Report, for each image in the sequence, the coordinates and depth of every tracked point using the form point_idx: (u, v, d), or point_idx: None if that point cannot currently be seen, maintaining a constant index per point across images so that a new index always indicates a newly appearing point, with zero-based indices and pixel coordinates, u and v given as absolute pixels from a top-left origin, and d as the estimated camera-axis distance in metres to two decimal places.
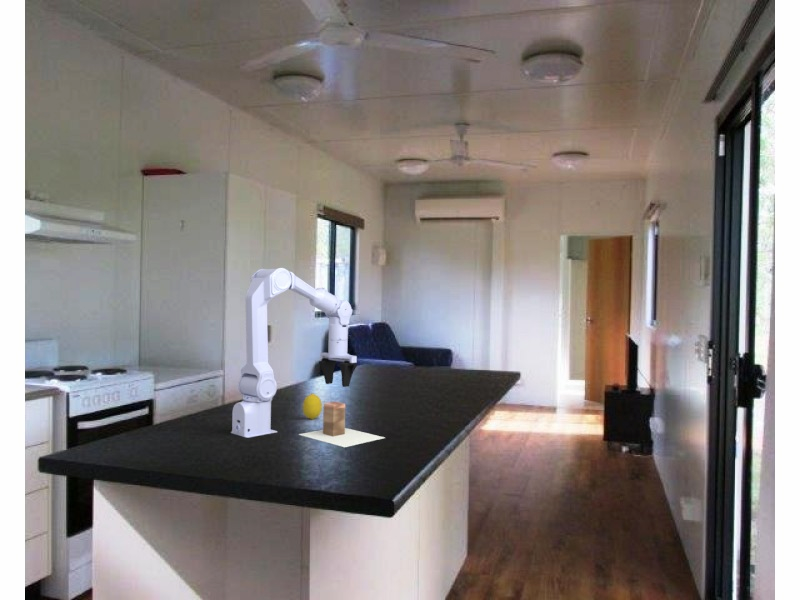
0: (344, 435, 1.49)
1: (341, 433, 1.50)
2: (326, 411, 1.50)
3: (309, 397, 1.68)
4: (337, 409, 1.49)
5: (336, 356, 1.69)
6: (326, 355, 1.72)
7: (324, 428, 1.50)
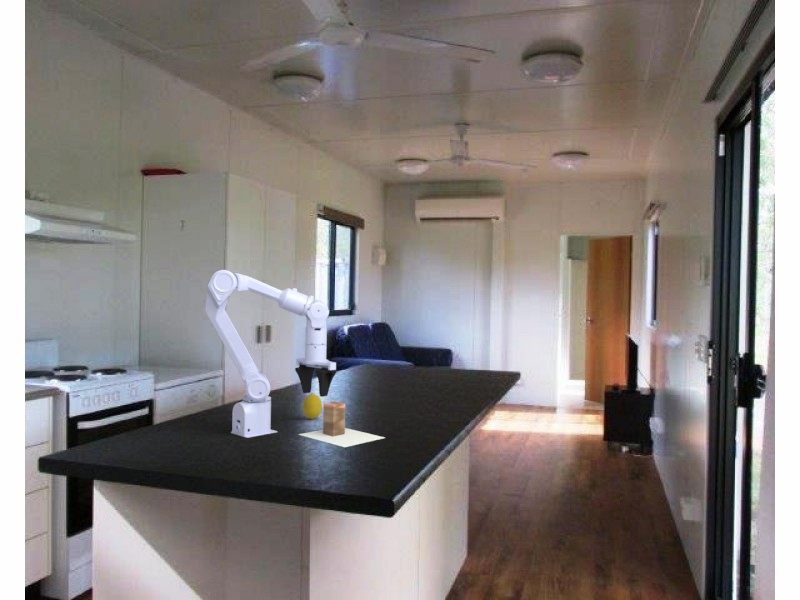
0: (344, 435, 1.49)
1: (341, 433, 1.50)
2: (326, 411, 1.50)
3: (309, 397, 1.68)
4: (337, 409, 1.49)
5: (313, 362, 1.53)
6: (303, 361, 1.56)
7: (324, 428, 1.50)
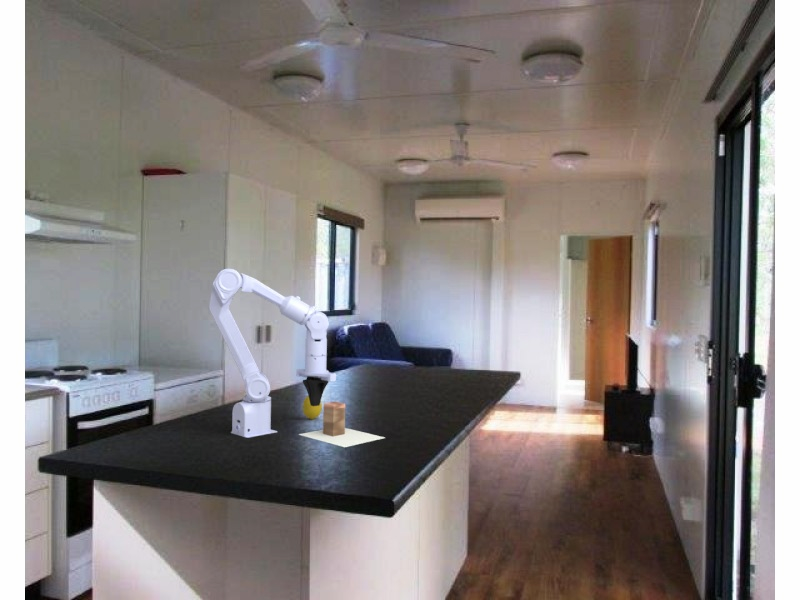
0: (344, 435, 1.49)
1: (341, 433, 1.50)
2: (326, 411, 1.50)
3: None
4: (337, 409, 1.49)
5: (313, 374, 1.53)
6: (303, 372, 1.56)
7: (324, 428, 1.50)
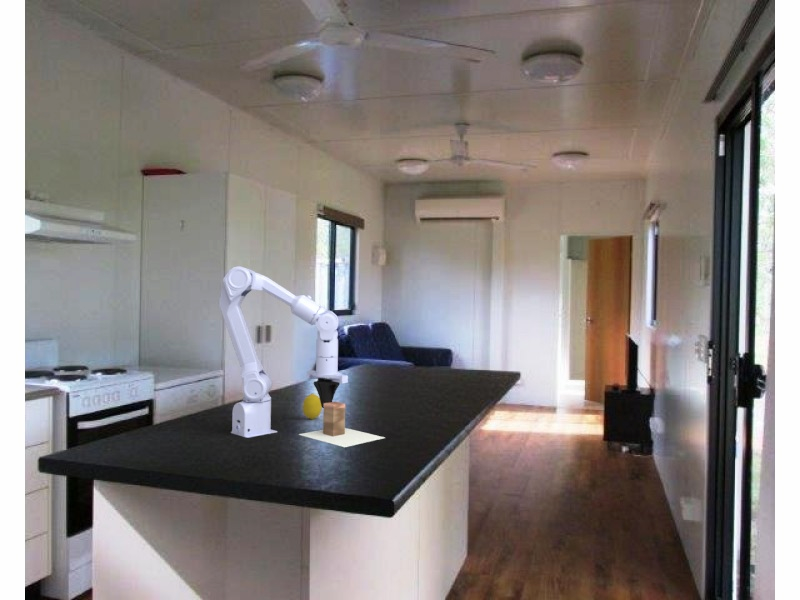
0: (344, 435, 1.49)
1: (341, 433, 1.50)
2: (326, 411, 1.50)
3: (309, 397, 1.68)
4: (337, 409, 1.49)
5: (325, 375, 1.49)
6: (314, 374, 1.53)
7: (324, 428, 1.50)
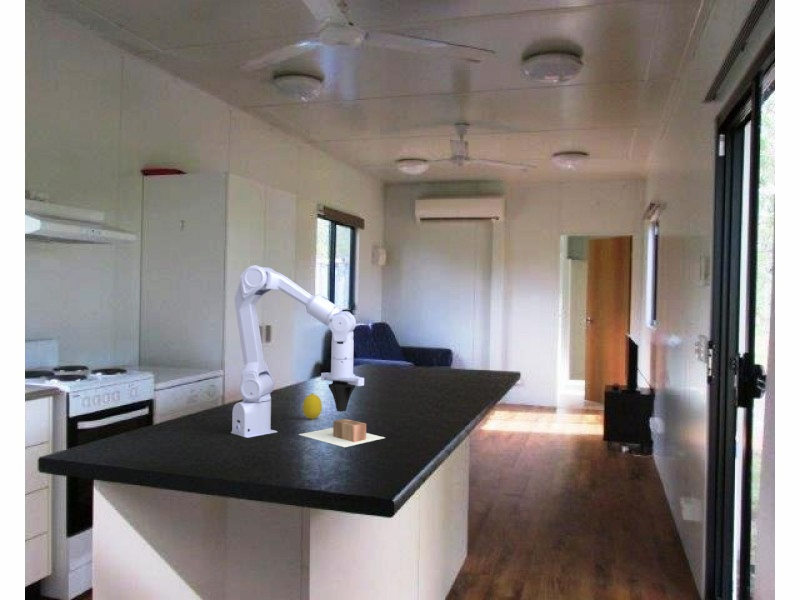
0: None
1: None
2: (349, 429, 1.43)
3: (309, 397, 1.68)
4: None
5: (340, 378, 1.45)
6: (328, 376, 1.49)
7: (337, 424, 1.47)
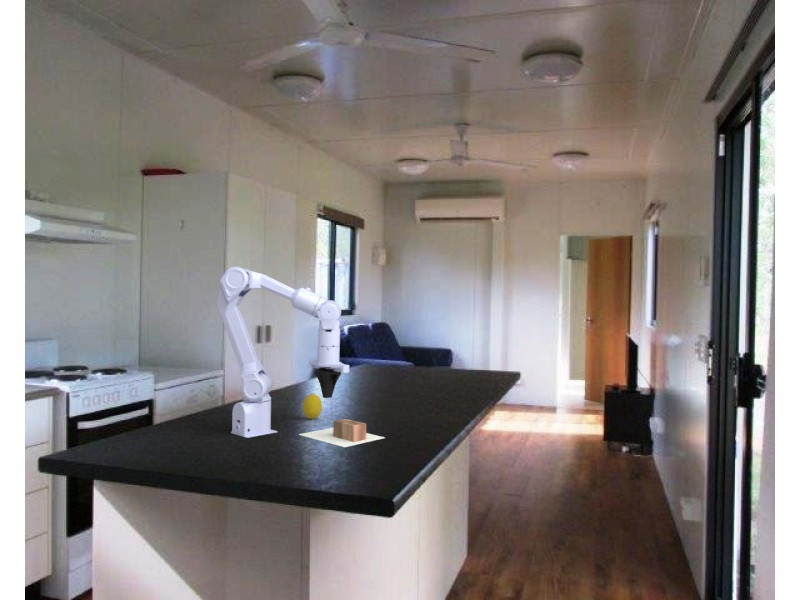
0: None
1: None
2: (349, 429, 1.43)
3: (309, 397, 1.68)
4: None
5: (326, 365, 1.49)
6: (315, 363, 1.52)
7: (337, 424, 1.47)
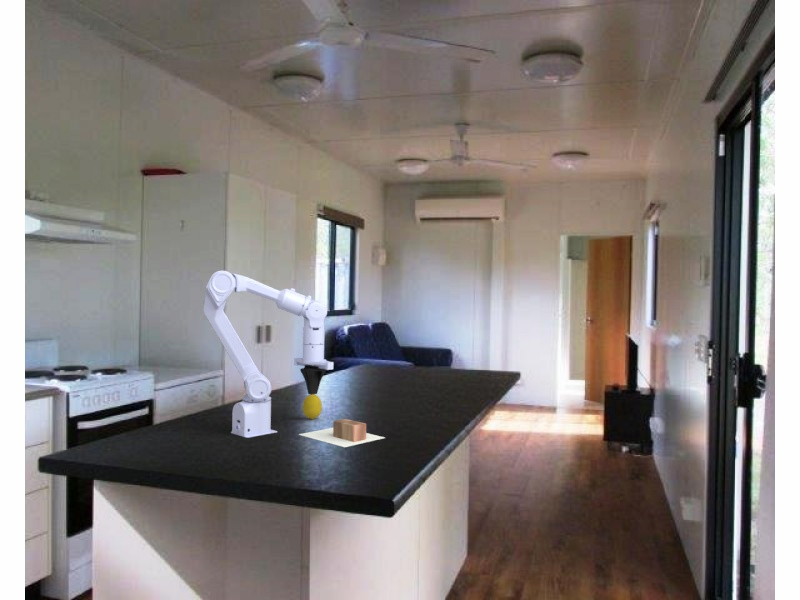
0: None
1: None
2: (349, 429, 1.43)
3: (309, 397, 1.68)
4: None
5: (311, 362, 1.53)
6: (300, 361, 1.56)
7: (337, 424, 1.47)
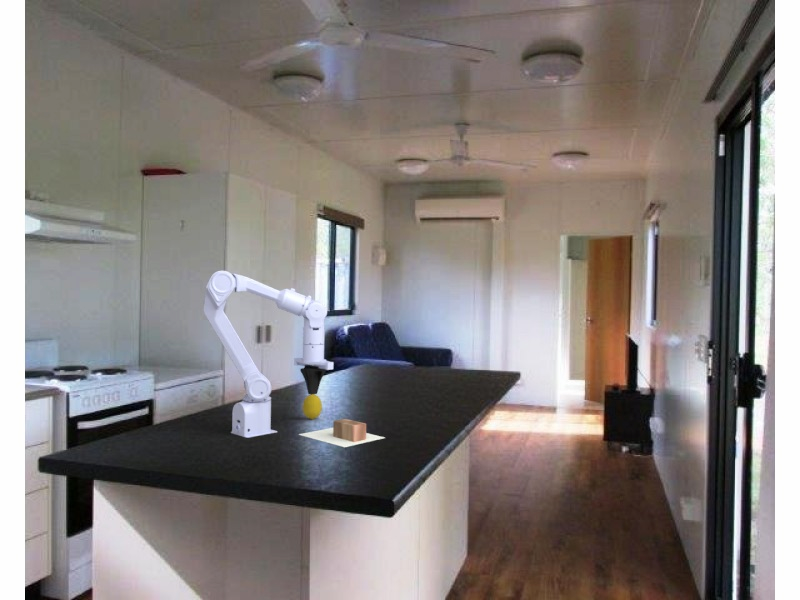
0: None
1: None
2: (349, 429, 1.43)
3: (309, 397, 1.68)
4: None
5: (311, 362, 1.53)
6: (300, 361, 1.56)
7: (337, 424, 1.47)
